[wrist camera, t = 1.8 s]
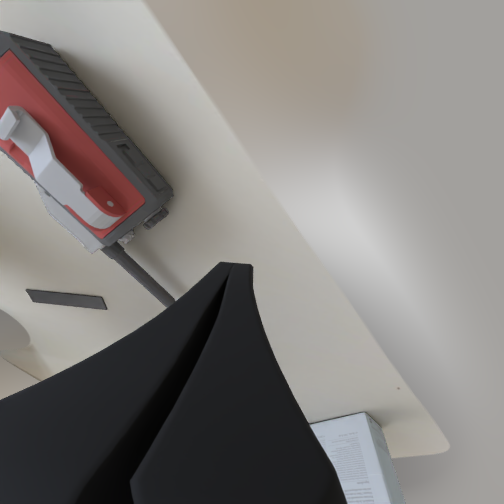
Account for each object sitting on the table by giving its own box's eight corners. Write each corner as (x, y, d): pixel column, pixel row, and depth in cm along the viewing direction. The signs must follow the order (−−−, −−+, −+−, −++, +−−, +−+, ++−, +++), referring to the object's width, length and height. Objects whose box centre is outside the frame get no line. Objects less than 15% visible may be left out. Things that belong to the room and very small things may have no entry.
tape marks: (107, 309, 26) (106, 309, 26) (34, 301, 27) (33, 302, 26) (-44, -45, 12) (-47, -46, 12) (-181, -36, 13) (-184, -37, 13)
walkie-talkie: (-27, 114, 16) (171, 300, 24) (-119, 114, 13) (149, 335, 20) (27, 8, 13) (239, 263, 20) (-78, -34, 9) (228, 297, 16)
